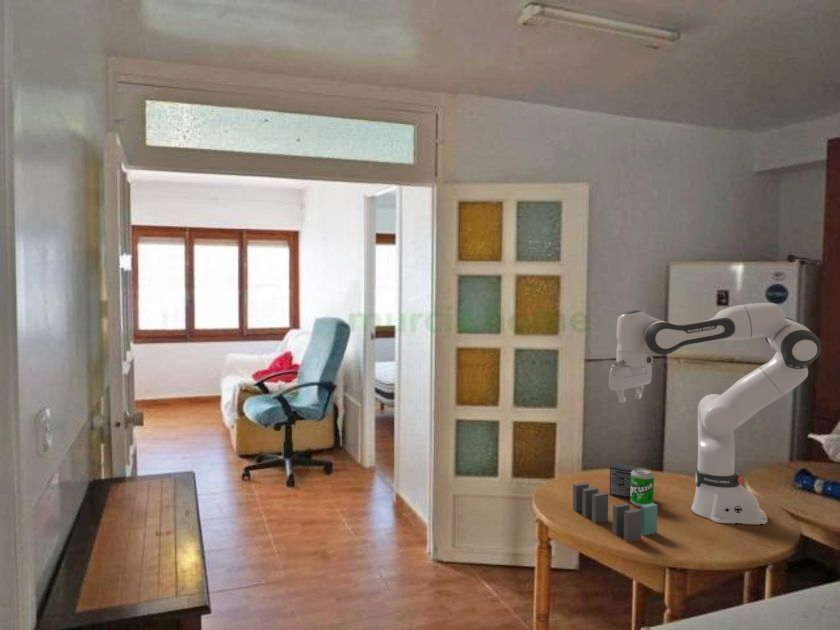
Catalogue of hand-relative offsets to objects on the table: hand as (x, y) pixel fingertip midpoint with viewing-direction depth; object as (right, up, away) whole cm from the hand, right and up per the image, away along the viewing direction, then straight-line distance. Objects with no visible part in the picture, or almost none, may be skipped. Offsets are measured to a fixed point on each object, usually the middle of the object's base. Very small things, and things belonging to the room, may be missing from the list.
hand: (630, 400), depth 200 cm
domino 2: (-13, -38, +1) cm, 41 cm away
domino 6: (+1, -39, -14) cm, 42 cm away
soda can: (+7, -38, +10) cm, 40 cm away
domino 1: (-15, -38, +5) cm, 41 cm away
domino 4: (-8, -39, -13) cm, 42 cm away
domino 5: (-6, -40, -18) cm, 44 cm away
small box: (+5, -37, +19) cm, 42 cm away
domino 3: (-11, -39, -4) cm, 40 cm away
